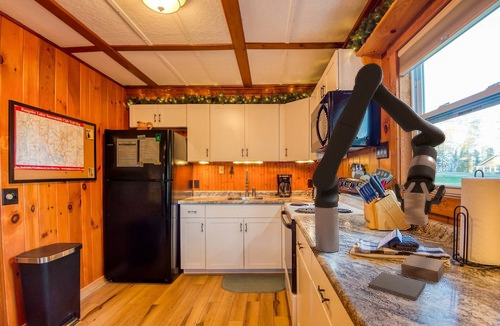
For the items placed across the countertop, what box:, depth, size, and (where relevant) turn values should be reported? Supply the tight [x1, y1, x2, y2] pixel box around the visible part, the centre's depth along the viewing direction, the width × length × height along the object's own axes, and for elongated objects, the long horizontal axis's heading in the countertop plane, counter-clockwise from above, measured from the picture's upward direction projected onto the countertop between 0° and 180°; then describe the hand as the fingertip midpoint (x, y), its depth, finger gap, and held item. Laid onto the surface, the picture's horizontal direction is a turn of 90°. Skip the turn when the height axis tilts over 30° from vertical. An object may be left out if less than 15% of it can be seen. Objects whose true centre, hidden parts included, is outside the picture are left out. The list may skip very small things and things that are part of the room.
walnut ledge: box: [400, 254, 445, 283], centre depth 78 cm, size 9×11×3 cm
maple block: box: [403, 192, 429, 227], centre depth 77 cm, size 5×5×9 cm
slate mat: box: [368, 271, 427, 301], centre depth 69 cm, size 11×11×1 cm
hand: (414, 212), depth 76 cm, fingers closed on maple block, 5 cm apart
